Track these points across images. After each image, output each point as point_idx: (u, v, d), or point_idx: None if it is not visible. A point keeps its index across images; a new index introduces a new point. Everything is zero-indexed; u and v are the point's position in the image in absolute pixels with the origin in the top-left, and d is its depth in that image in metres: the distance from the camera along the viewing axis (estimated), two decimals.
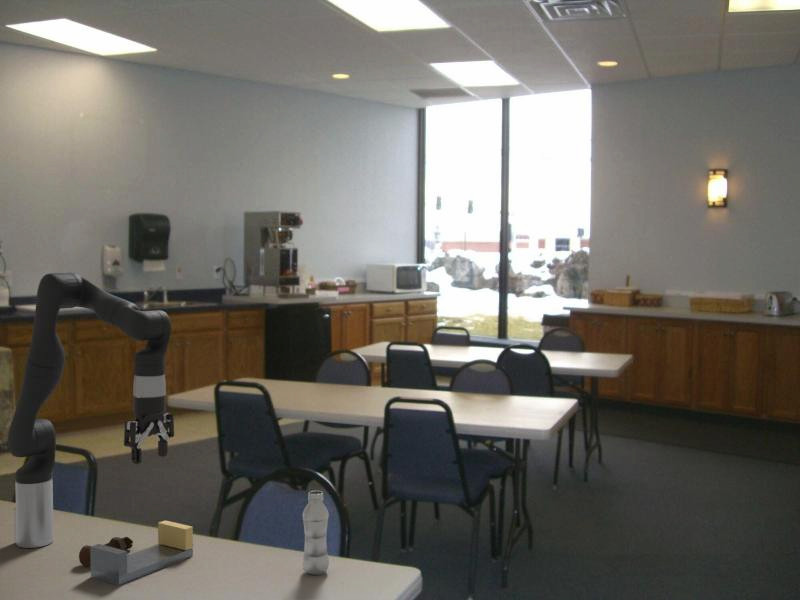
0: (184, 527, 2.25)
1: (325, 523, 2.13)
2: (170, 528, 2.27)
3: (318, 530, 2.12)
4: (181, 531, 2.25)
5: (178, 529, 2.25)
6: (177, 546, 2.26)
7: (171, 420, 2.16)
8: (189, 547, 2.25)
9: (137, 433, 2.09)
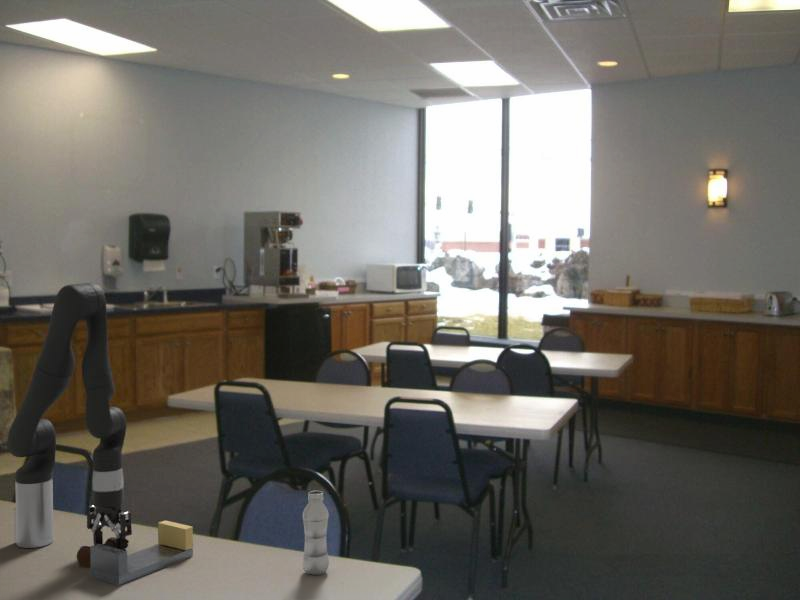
0: (184, 527, 2.25)
1: (325, 523, 2.13)
2: (170, 528, 2.27)
3: (318, 530, 2.12)
4: (181, 531, 2.25)
5: (178, 529, 2.25)
6: (177, 546, 2.26)
7: None
8: (189, 547, 2.25)
9: None
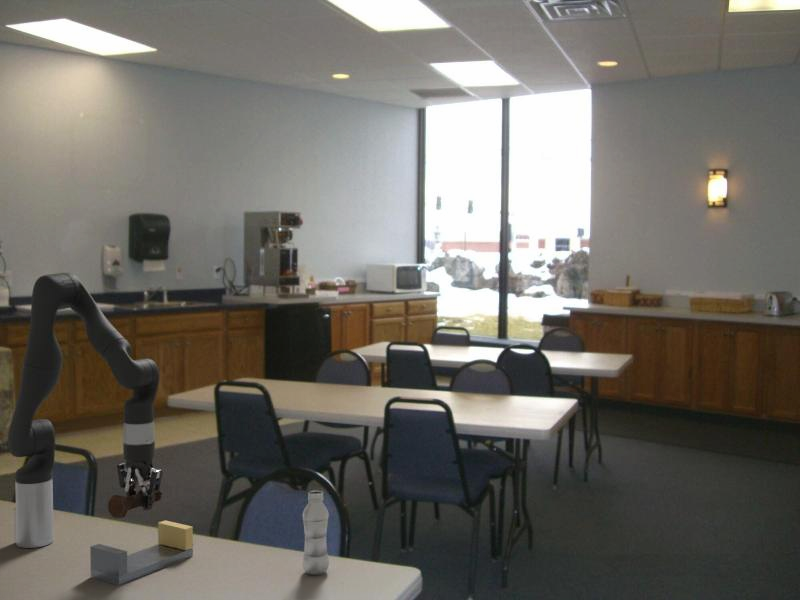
0: (184, 527, 2.25)
1: (325, 523, 2.13)
2: (170, 528, 2.27)
3: (318, 530, 2.12)
4: (181, 531, 2.25)
5: (178, 529, 2.25)
6: (177, 546, 2.26)
7: None
8: (189, 547, 2.25)
9: None
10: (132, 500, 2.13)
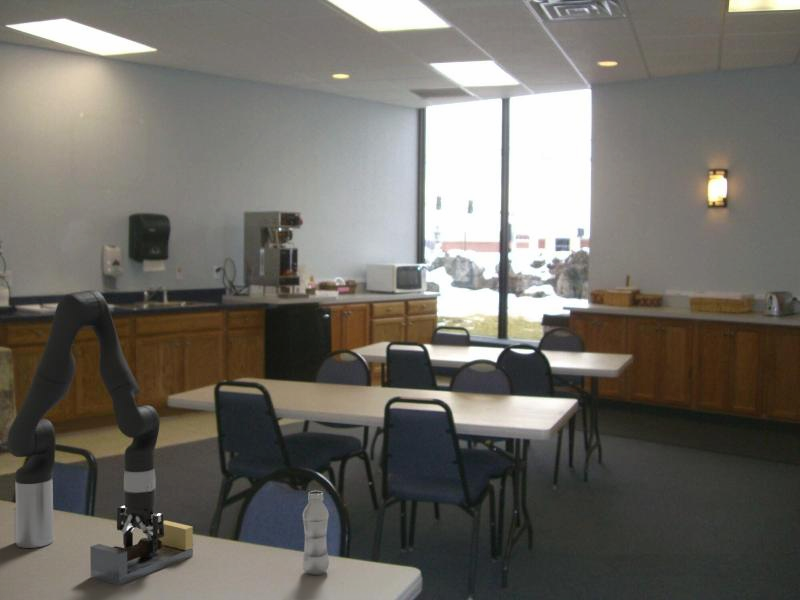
0: (184, 527, 2.25)
1: (325, 523, 2.13)
2: (170, 528, 2.27)
3: (318, 530, 2.12)
4: (181, 531, 2.25)
5: (178, 529, 2.25)
6: (177, 546, 2.26)
7: None
8: (189, 547, 2.25)
9: None
10: (132, 551, 2.14)
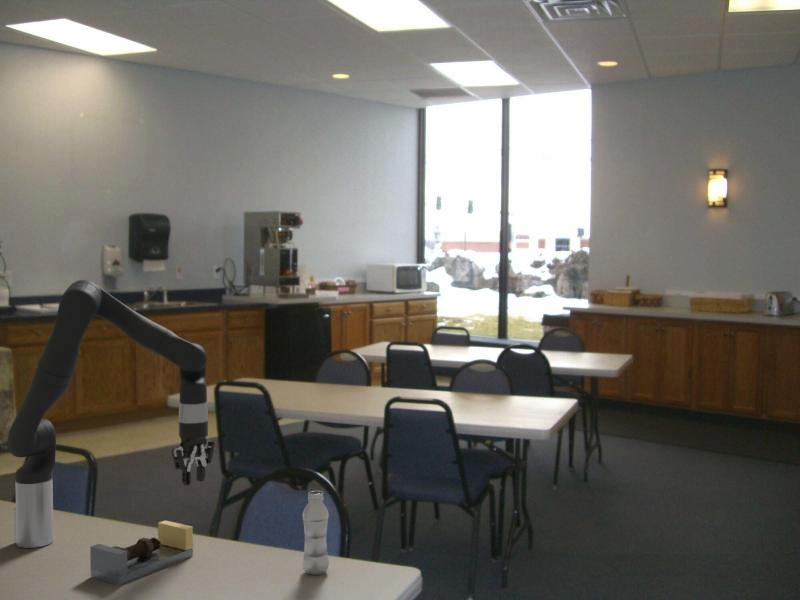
0: (184, 527, 2.25)
1: (325, 523, 2.13)
2: (170, 528, 2.27)
3: (318, 530, 2.12)
4: (181, 531, 2.25)
5: (178, 529, 2.25)
6: (177, 546, 2.26)
7: None
8: (189, 547, 2.25)
9: None
10: (131, 551, 2.14)
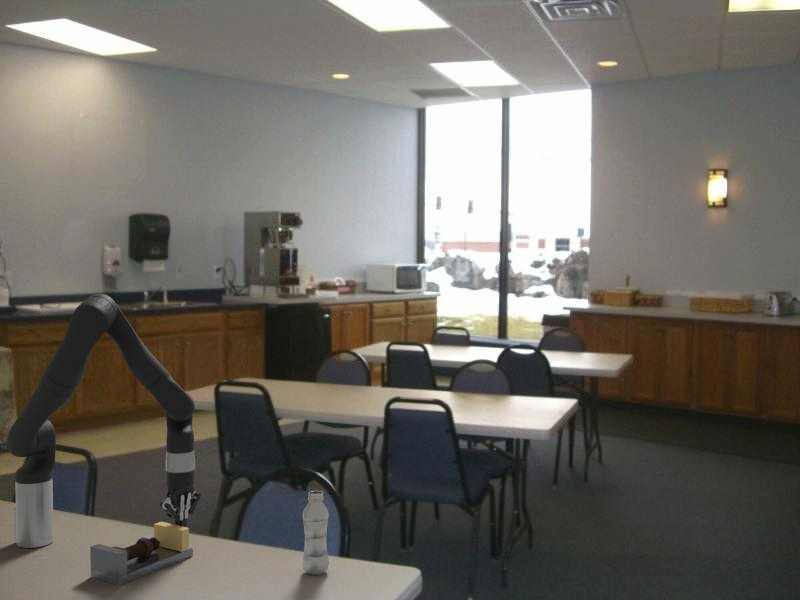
0: (180, 528, 2.24)
1: (325, 523, 2.13)
2: (166, 529, 2.25)
3: (318, 530, 2.12)
4: (177, 532, 2.23)
5: (174, 530, 2.24)
6: (173, 547, 2.24)
7: None
8: (185, 548, 2.24)
9: None
10: (131, 551, 2.14)
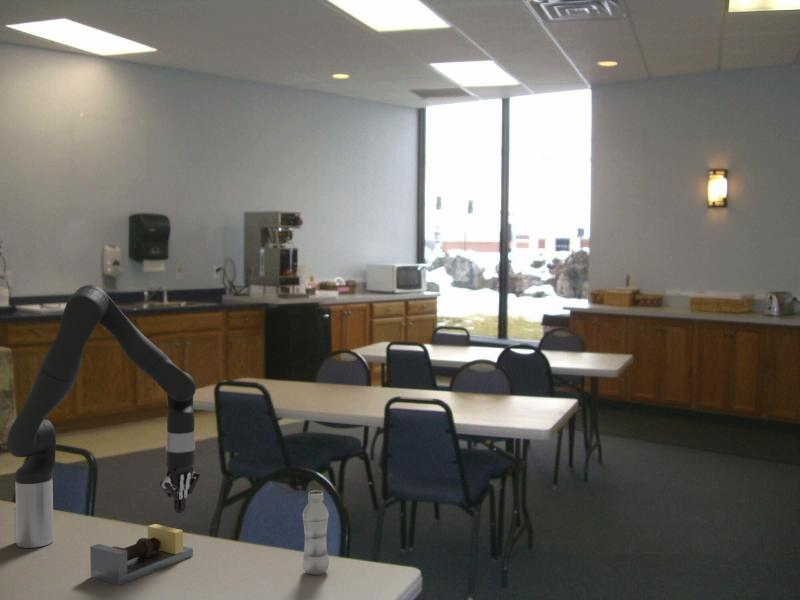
0: (174, 531, 2.22)
1: (325, 523, 2.13)
2: (160, 532, 2.24)
3: (318, 530, 2.12)
4: (171, 534, 2.22)
5: (167, 533, 2.22)
6: (167, 550, 2.23)
7: None
8: (179, 551, 2.22)
9: None
10: (131, 551, 2.14)
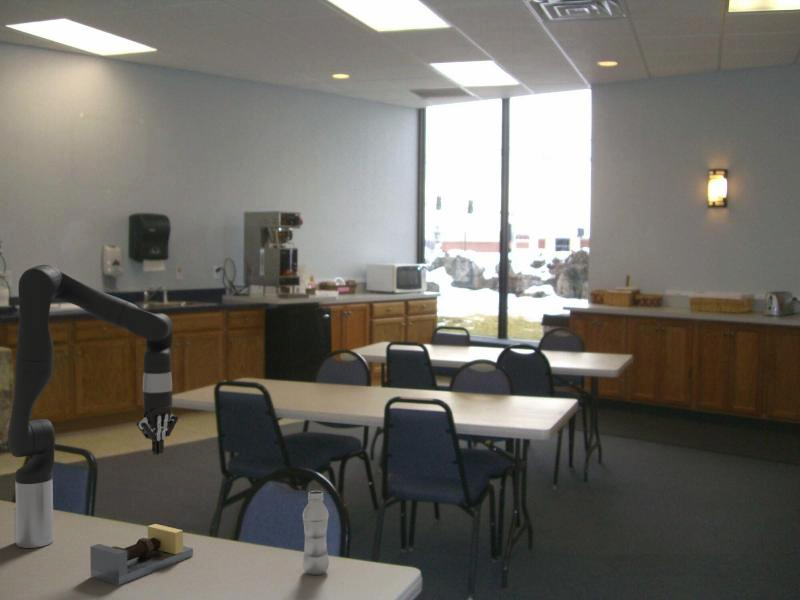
0: (174, 531, 2.22)
1: (325, 523, 2.13)
2: (160, 532, 2.24)
3: (318, 530, 2.12)
4: (171, 534, 2.22)
5: (167, 533, 2.22)
6: (167, 550, 2.23)
7: None
8: (179, 551, 2.22)
9: None
10: (131, 551, 2.14)
